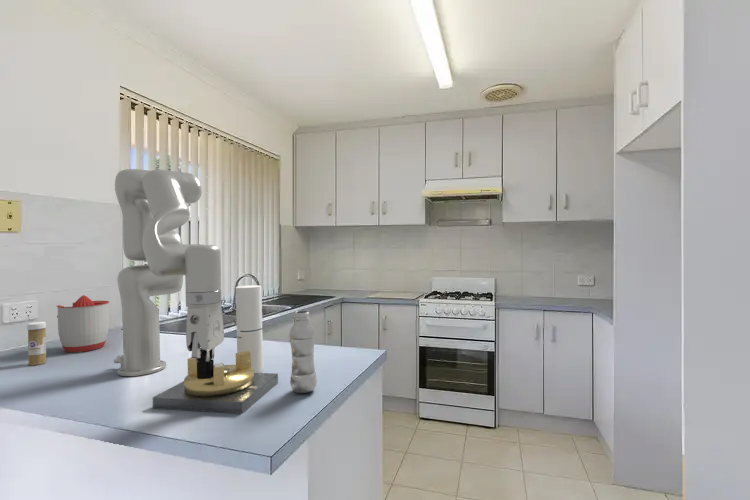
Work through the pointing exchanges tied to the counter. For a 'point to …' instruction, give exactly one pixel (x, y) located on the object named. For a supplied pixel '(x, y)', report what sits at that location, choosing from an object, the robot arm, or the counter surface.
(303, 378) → the plastic bottle
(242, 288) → the cylindrical container
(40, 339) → the sprinkles bottle
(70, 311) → the citrus juicer
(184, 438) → the counter surface
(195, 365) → the gold tabbed disc
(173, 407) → the base plate
